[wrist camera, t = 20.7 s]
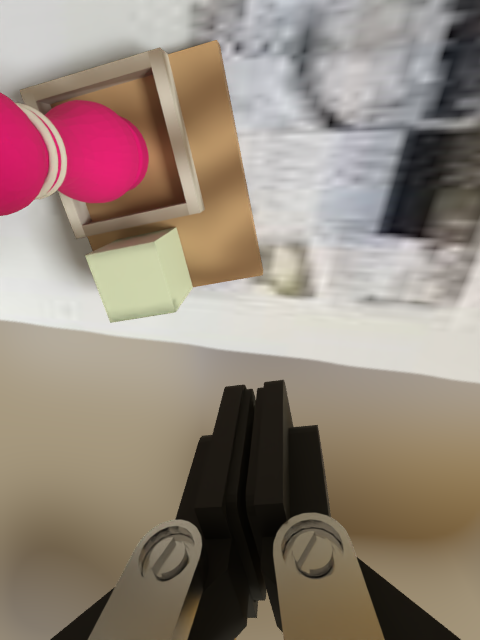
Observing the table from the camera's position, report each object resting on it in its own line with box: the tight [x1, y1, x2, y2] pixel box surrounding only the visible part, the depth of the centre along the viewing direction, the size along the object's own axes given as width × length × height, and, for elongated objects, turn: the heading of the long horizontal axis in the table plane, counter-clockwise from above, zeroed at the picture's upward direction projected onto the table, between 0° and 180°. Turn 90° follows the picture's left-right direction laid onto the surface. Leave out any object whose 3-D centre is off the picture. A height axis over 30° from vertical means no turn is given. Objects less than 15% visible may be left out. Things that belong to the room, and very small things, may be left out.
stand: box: [20, 40, 263, 287], centre depth 32 cm, size 19×16×4 cm
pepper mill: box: [0, 93, 149, 216], centre depth 23 cm, size 7×7×20 cm
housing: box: [85, 227, 193, 323], centre depth 33 cm, size 6×6×6 cm
